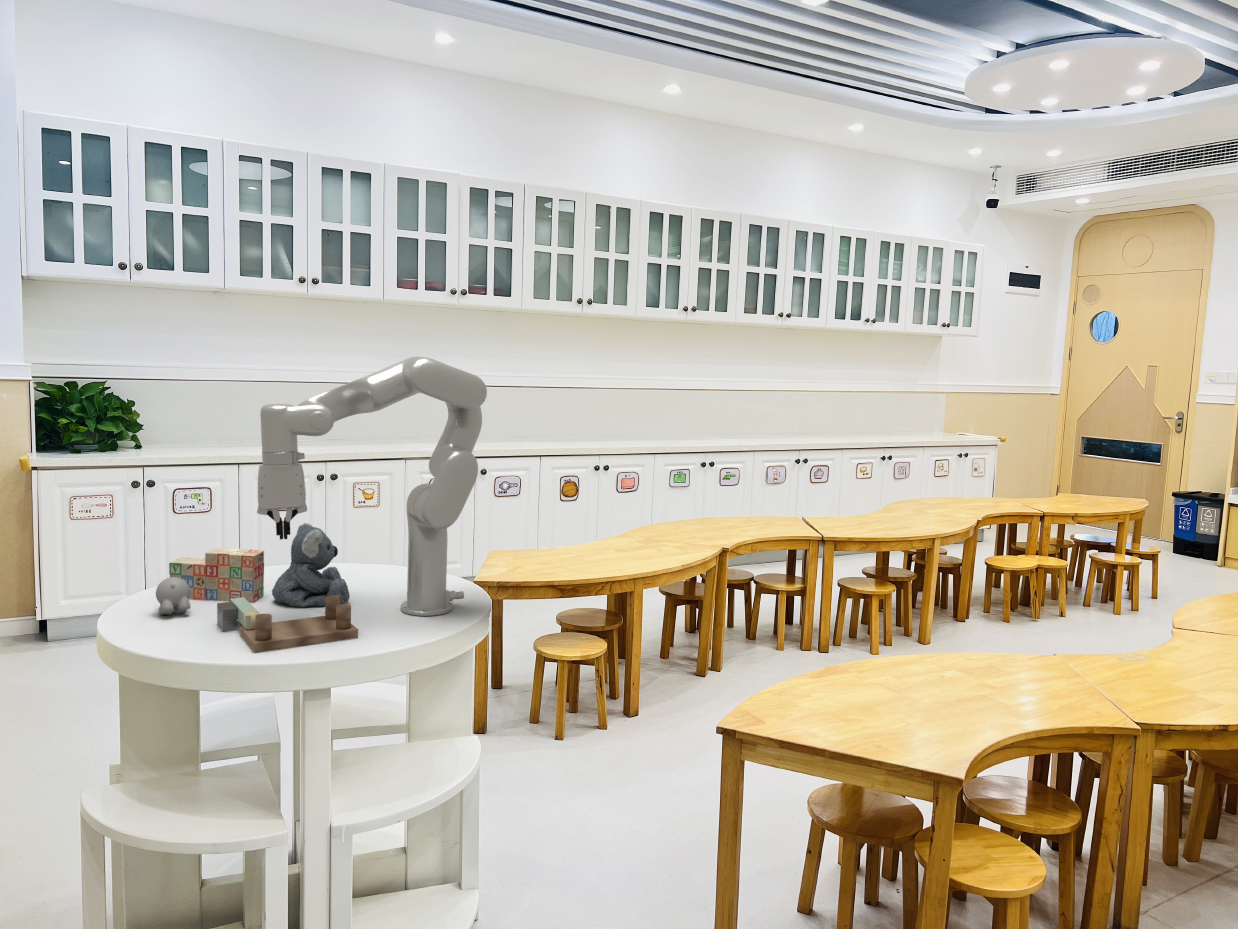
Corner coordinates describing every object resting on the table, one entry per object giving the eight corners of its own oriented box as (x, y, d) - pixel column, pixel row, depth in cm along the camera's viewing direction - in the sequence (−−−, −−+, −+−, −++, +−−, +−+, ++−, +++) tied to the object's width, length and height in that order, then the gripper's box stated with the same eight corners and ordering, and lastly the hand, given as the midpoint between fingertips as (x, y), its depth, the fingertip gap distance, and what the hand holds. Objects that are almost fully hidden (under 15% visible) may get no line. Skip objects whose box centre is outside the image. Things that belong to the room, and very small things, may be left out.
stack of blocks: (168, 598, 218) (168, 550, 217) (182, 592, 224) (181, 545, 223) (253, 603, 218) (253, 555, 216) (264, 596, 224) (264, 549, 222)
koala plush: (351, 607, 219) (352, 530, 216) (274, 613, 211) (274, 533, 209) (341, 589, 234) (342, 517, 232) (269, 594, 226) (269, 519, 224)
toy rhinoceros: (185, 616, 213) (183, 581, 215) (193, 609, 204) (191, 573, 206) (152, 619, 209) (150, 584, 211) (159, 613, 200) (157, 576, 201)
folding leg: (261, 627, 192) (261, 613, 192) (245, 630, 190) (245, 615, 190) (244, 610, 204) (244, 596, 204) (229, 611, 203) (229, 598, 202)
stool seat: (339, 622, 206) (340, 593, 205) (358, 637, 196) (358, 607, 195) (240, 635, 193) (240, 604, 193) (253, 653, 183) (253, 620, 182)
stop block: (231, 622, 202) (231, 601, 201) (237, 630, 197) (237, 608, 196) (217, 624, 200) (217, 603, 199) (222, 632, 195) (222, 610, 194)
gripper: (315, 455, 204) (317, 532, 206) (245, 457, 199) (249, 536, 201) (315, 459, 197) (318, 539, 199) (243, 462, 192) (247, 544, 194)
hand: (283, 538), depth 200 cm, fingers closed
